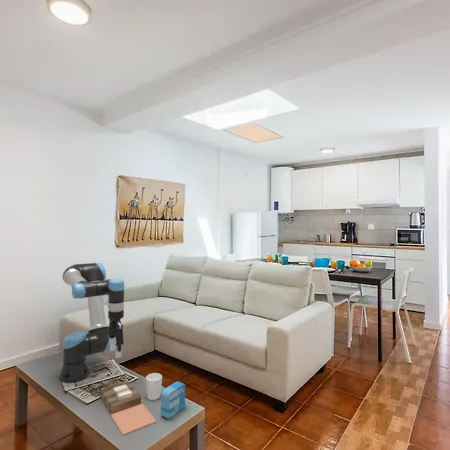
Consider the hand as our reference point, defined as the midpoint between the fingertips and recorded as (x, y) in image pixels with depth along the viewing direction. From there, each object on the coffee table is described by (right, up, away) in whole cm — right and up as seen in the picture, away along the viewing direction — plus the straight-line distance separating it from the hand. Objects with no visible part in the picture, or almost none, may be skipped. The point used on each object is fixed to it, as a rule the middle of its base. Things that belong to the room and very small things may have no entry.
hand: (115, 353), depth 164 cm
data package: (+32, -22, -14) cm, 41 cm away
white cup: (+20, -21, -2) cm, 29 cm away
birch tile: (+6, -17, -8) cm, 20 cm away
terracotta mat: (+15, -21, -20) cm, 33 cm away
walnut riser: (+4, -21, -6) cm, 22 cm away
